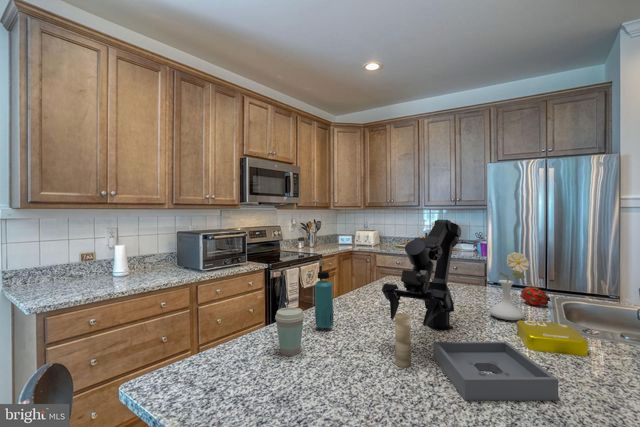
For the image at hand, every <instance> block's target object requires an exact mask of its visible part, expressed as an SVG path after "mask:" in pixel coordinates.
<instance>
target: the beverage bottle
mask: <svg viewBox="0 0 640 427" xmlns="http://www.w3.org/2000/svg"><path fill="white" fill-rule="evenodd" d="M316 277H317V279H319V280H317V282H316V283H315V284H314V323H315V326H316V327H318V328H324V329H325V328H331V327H332V326H334V303H333V302H334V296H333V284H332V282H331V281H330V280H328V279H330V272H329V271H327V270H326V271H325V270H322V271H318V272H317V276H316Z"/></svg>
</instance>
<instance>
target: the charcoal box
mask: <svg viewBox="0 0 640 427" xmlns="http://www.w3.org/2000/svg"><path fill="white" fill-rule="evenodd" d="M433 359H434V360H435V361H436V363H437V365H438V366H439V368H441V370H442V371H443V373H444V374H445V376H446V377H447V379H448V380H449V381H450V382H451V384H452V385H453V387H454V388H455V389H456V391H457V392H458V393H459V395H460V396H461V397H462V398H463V400H464V401H559V379H558V378H557V377H556V376H554V375H553V374H552V373H550V372H549V371H548V370H546V369H545V368H543V367H542V366H541V365H540V364H538V363H537V362H535V361H534V360H532V359H531V358H530V357H529V356H527V355H526V354H524V353H523V352H521V350H520V349H517V348H516V347H514V346H513V345H512V344H510V342H508V341H433ZM485 372H492V373H485Z"/></svg>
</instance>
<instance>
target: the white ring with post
mask: <svg viewBox="0 0 640 427" xmlns="http://www.w3.org/2000/svg"><path fill="white" fill-rule="evenodd" d="M379 303H381V305H380V304H379ZM388 304H390V302H389V300H387V299H386V297H385V295H384V294H382V295H380V298H379V301H376V302H375V303H374V305H375V306H377V307H384V308H387V307H388V308H390V305H388Z"/></svg>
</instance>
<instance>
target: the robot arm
mask: <svg viewBox="0 0 640 427" xmlns="http://www.w3.org/2000/svg"><path fill="white" fill-rule="evenodd" d="M461 236H462V229H461V227H460V226H459V224H457V223H454V222H452V221H451V220H449V219H436V220H434V225H433V226H432V228H431V230H430V231H429V233H428V235H427V236H426V237H424V238H422V237H414V238H413V240H410V241H408V242H407V243H406V244H405V246H404V250H405V253H406V255H407V258H408V260H409V262H410V264H411V265H412V269H411V270H405V269H403V270H402V272H401V276H400V277H401V278H400V282H401V283H403V288H405V289H400V288H399V286H398V285H397V284H396V283H387V282H386V283H383V285H382V287H381V291H382V293H383V295H385V297H386V299H387V300H388V302H390V303H389V306H390V307H389V308H390V309H389V310H390V319H391V320H392V321H393V320H395V314H397V312H398V309H399V306H400V301H401V298H402V297H403V298H408V299H414V300H418V301H419V300H421V301H423V302H424V309H425V310H426V312H425V315H424V317H423V321H422V325H423V327H426V326H429V327H430V328H432V329H434V330H436V331H443V330H445V331H446V330H449V329H453V328H454V326H453V325H451V320H450V318H451V317H450V313H454V312H455V304H454V300H453V298H452V294H451V290H450V289H449V286H448V280H449V274H450V268H451V267H450V266H451V261H452V254H453V248H454V247H456V246H457V245H458V244H459V239H460V238H461ZM433 261H436V265H435V270H434V262H433ZM433 273H434V275H433V279H432V278H431V277H432V274H433ZM431 279H432V281H431Z"/></svg>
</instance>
